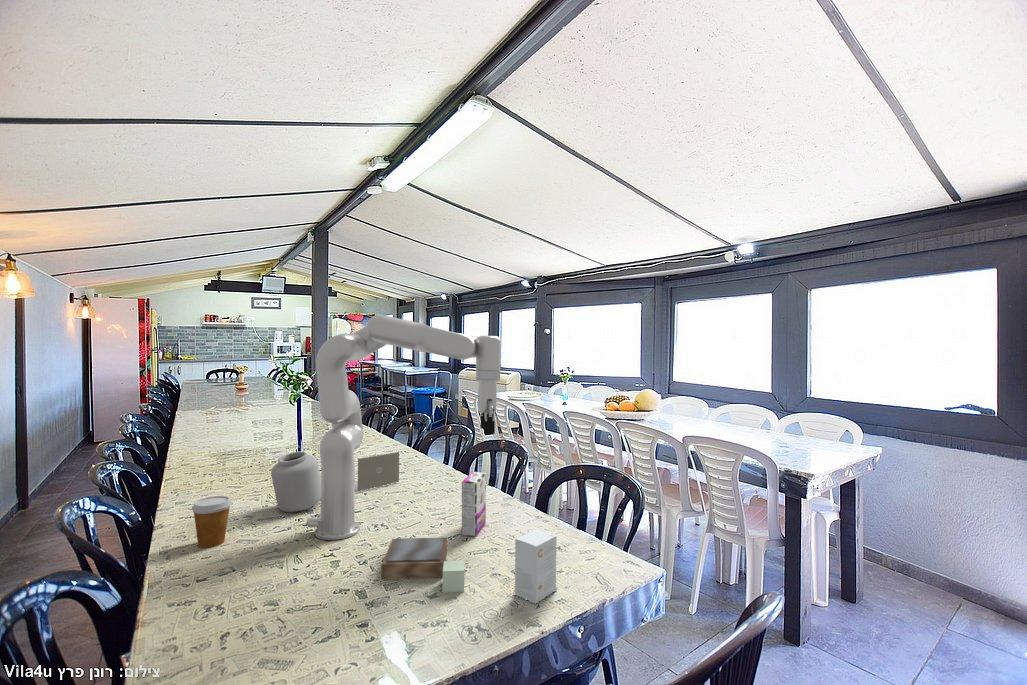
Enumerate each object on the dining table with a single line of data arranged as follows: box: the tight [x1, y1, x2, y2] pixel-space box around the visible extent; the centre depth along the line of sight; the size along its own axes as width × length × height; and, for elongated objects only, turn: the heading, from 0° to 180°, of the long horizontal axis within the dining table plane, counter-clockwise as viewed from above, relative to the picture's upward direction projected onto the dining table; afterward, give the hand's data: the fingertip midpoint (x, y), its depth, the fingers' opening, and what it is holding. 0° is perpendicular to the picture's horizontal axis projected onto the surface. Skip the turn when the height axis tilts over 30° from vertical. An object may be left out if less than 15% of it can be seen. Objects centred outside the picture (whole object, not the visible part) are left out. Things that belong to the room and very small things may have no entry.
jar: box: [270, 436, 321, 519], centre depth 160 cm, size 19×15×25 cm
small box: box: [514, 528, 557, 605], centre depth 109 cm, size 8×6×13 cm
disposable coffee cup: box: [191, 495, 233, 549], centre depth 132 cm, size 10×10×12 cm
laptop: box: [355, 451, 400, 492], centre depth 190 cm, size 18×12×13 cm
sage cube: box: [441, 560, 466, 593], centre depth 111 cm, size 5×5×5 cm
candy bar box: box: [461, 471, 487, 538], centre depth 145 cm, size 11×5×16 cm, turn 168°
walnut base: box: [381, 536, 448, 580], centre depth 122 cm, size 15×15×4 cm
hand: (487, 431), depth 144 cm, fingers open, 9 cm apart
